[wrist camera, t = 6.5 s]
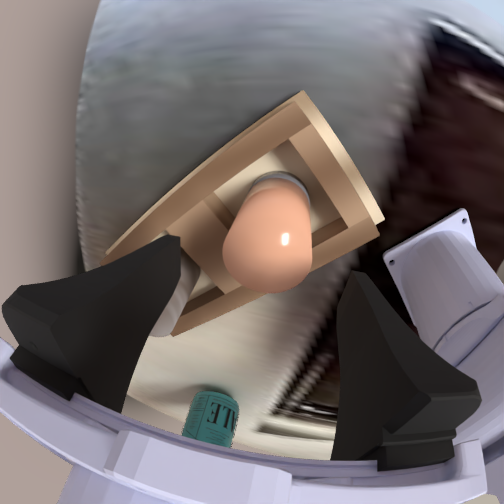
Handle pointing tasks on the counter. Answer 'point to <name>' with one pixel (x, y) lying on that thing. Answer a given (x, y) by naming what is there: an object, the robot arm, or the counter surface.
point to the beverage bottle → (212, 418)
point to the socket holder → (232, 197)
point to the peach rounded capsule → (271, 235)
